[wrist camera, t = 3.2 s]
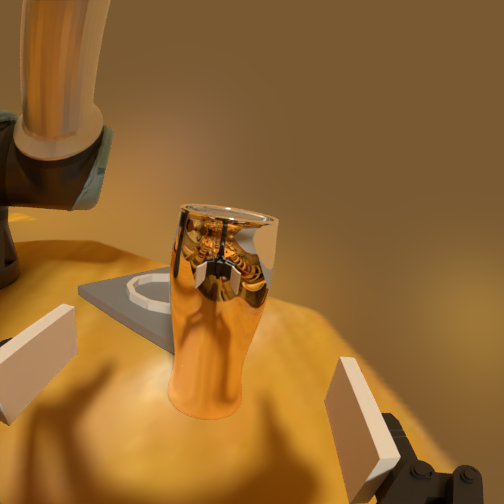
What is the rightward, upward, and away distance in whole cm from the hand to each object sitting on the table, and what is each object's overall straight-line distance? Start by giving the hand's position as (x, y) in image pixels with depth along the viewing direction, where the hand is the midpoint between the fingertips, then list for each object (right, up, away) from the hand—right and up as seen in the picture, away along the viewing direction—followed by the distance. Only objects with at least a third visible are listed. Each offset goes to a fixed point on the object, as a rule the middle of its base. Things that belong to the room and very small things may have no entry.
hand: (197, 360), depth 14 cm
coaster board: (-8, -2, +27) cm, 29 cm away
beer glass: (-1, -7, +10) cm, 12 cm away
